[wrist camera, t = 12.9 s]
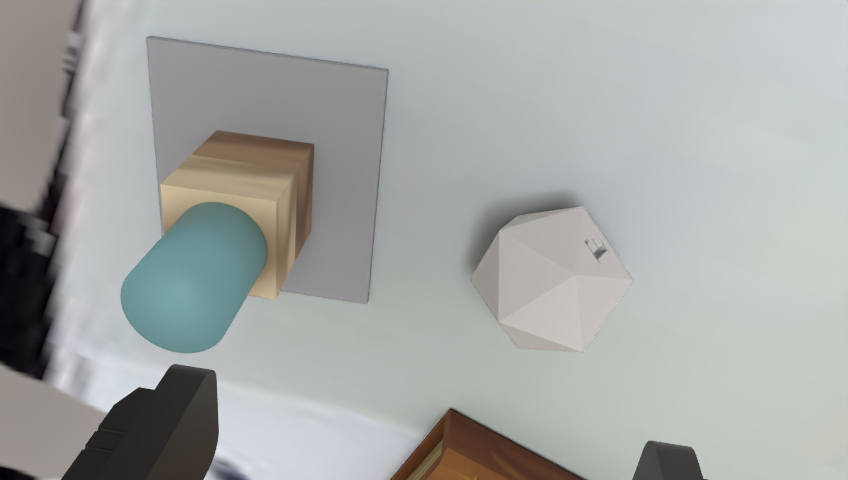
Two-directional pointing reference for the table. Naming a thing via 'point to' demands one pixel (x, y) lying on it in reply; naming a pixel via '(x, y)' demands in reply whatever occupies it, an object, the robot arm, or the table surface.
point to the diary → (473, 456)
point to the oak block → (241, 206)
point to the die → (551, 279)
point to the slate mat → (289, 120)
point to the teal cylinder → (195, 278)
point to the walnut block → (270, 155)
